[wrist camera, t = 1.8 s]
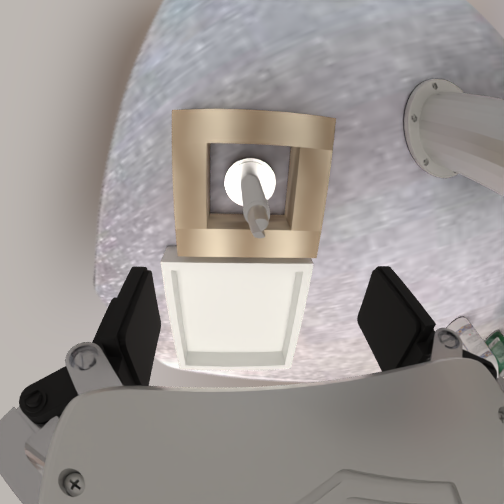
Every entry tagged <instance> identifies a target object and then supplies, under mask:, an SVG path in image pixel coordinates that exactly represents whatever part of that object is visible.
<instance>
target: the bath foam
mask: <svg viewBox="0 0 504 504" xmlns="http://www.w3.org/2000/svg"><path fill="white" fill-rule="evenodd" d="M447 328H448V329H450V330H452V331H454V332H455V333H457V334H458V335H459V337H460V338H461V340H462V344H463V347H462V349H464V350H466V351H468V352H470V353H472V354H475V355H477V356H479V357H481V358H484V359H486V360H488V361H490V362H491V363H492V364H493V365H494V367H495V368H496V371H497V378H498V364H497V360H496V358H495V356H494V355H493V353H492V352H491V350H490V349H489V347H488V346H487V345H486V343H485V342H484V341H483V339H482V338H481V337H480V335H479V334H478V333H477V331H476V330H475V329H474V327H473V326H472V325H471V324H470V322H469V321H468V320H467V319H466V318H464V317H461V318H458V319H456V320H455V321H453V322H452V323H451V324H450V325H449V326H448V327H447Z"/></svg>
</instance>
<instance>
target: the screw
mask: <svg viewBox="0 0 504 504" xmlns="http://www.w3.org/2000/svg"><path fill="white" fill-rule="evenodd" d="M275 184H276V180H275V175H274V173H273V170H272V169H271V168H270V166H269V165H268V164H267V163H265V162H264V161H262V160H260V159H256V158H244V159H241V160H238V161H237V162H235V163H234V164H233V165H232V166H231V167H230V168H229V170H228V171H227V173H226V176H225V189H226V192H227V194H228V196H229V197H230V198H231V199H232V200H233V201H234V202H235V203H237V204H239V205H242V206H243V215H244V217H245V219H246V221H247V222H248V223H249V227H250V230H251V232H252V234H253V236H254V237H255V238H264V237H265V232H264V229H266V228H267V226H268V224H269V219H270V209H269V205H268V202H267V200H268V199H269V198H270V197H271V196H272V194H273V192H274V189H275Z"/></svg>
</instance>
